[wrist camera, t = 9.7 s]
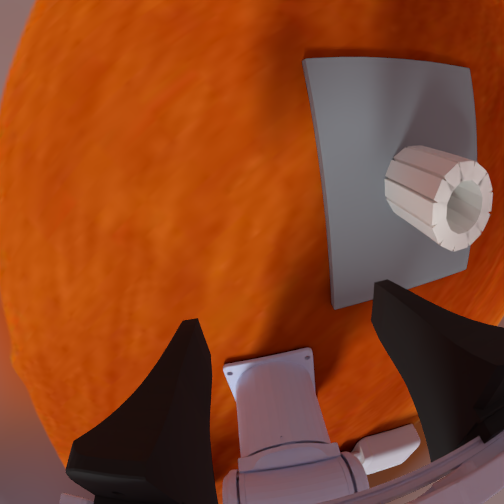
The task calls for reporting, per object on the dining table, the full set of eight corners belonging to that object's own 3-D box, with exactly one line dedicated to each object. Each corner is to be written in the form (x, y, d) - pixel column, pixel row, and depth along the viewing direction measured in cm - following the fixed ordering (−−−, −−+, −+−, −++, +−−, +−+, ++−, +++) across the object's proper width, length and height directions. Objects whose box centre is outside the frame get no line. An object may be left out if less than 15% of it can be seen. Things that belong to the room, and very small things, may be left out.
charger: (326, 442, 35) (411, 420, 36) (314, 465, 39) (391, 446, 40) (333, 469, 31) (422, 442, 32) (320, 487, 35) (399, 465, 36)
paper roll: (441, 212, 19) (487, 241, 15) (385, 224, 19) (428, 259, 15) (441, 144, 17) (494, 159, 12) (382, 148, 17) (433, 164, 12)
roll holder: (461, 265, 23) (481, 282, 20) (331, 303, 23) (344, 329, 20) (463, 68, 15) (491, 68, 12) (301, 60, 15) (317, 50, 12)
